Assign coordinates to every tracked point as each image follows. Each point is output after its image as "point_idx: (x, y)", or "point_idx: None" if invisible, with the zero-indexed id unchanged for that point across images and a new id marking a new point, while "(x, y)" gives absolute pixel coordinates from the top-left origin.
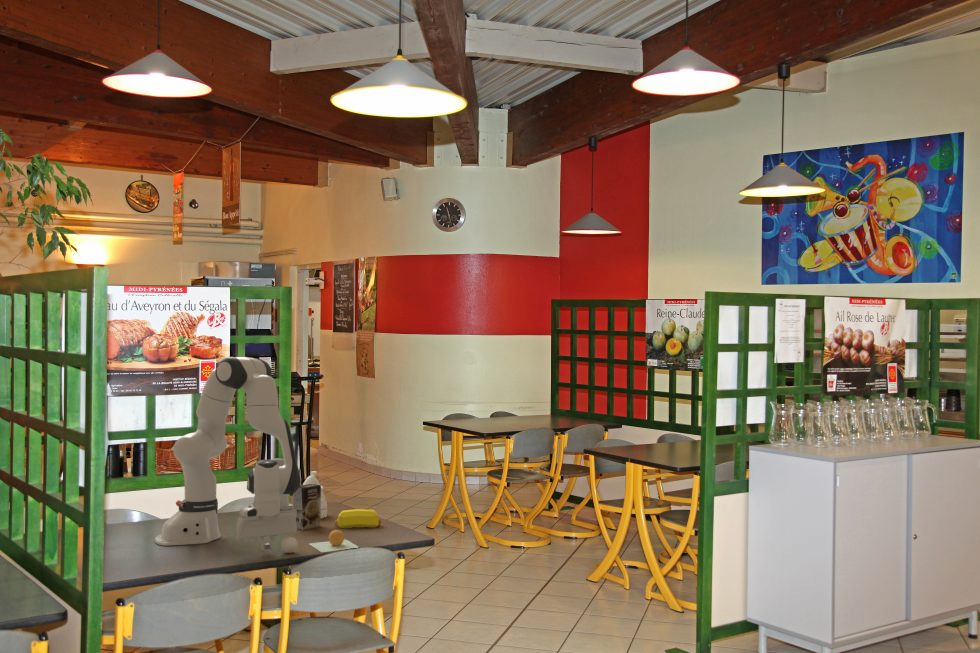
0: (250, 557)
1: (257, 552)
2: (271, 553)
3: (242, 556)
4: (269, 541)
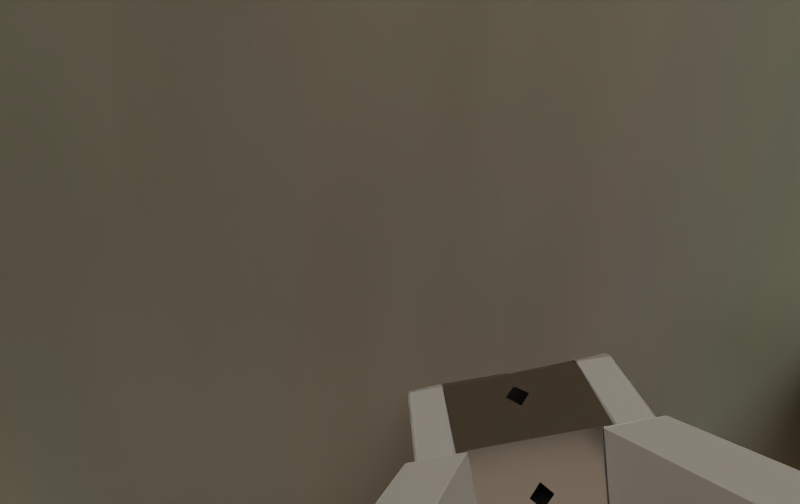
0: (196, 495)
1: (326, 172)
2: (586, 327)
3: (39, 403)
4: (654, 482)
